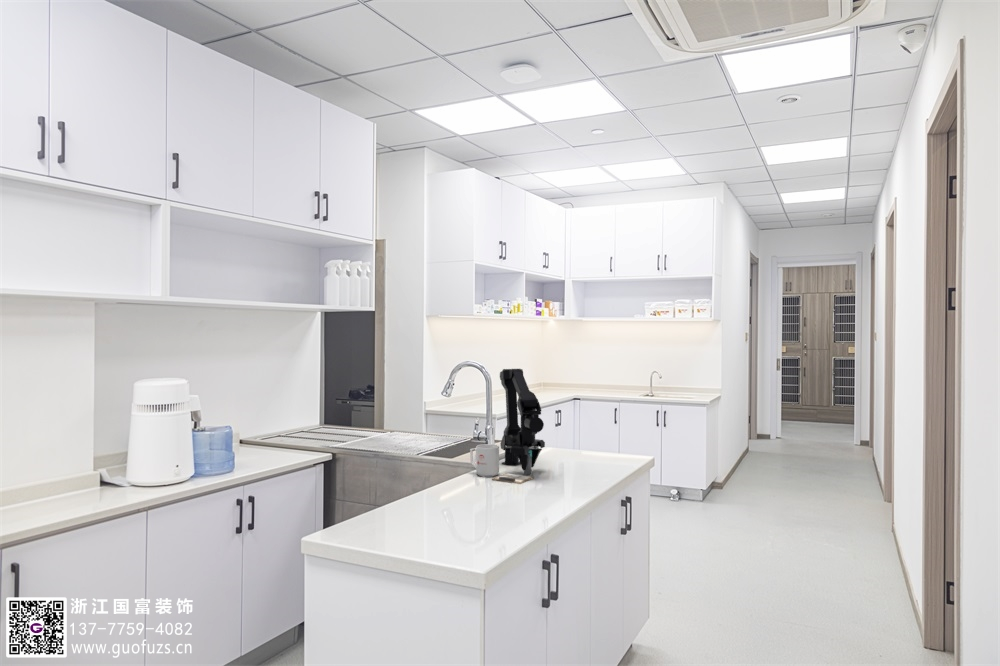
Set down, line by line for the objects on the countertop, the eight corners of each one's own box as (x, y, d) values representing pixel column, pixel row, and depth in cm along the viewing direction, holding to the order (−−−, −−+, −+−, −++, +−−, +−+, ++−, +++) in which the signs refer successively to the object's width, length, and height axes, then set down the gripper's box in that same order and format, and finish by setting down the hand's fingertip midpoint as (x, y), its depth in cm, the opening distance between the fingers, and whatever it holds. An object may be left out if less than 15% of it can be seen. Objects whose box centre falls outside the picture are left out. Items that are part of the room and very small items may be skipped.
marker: (526, 473, 261) (526, 449, 261) (533, 474, 260) (533, 450, 260) (522, 474, 259) (522, 450, 259) (529, 475, 257) (529, 451, 257)
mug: (503, 473, 261) (503, 445, 261) (492, 478, 253) (492, 449, 253) (476, 470, 266) (476, 442, 266) (464, 475, 258) (464, 446, 258)
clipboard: (505, 474, 259) (505, 470, 259) (533, 477, 254) (533, 474, 254) (491, 480, 250) (491, 476, 250) (520, 483, 244) (520, 480, 244)
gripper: (520, 424, 271) (520, 462, 271) (497, 430, 255) (497, 471, 255) (545, 426, 266) (545, 465, 266) (524, 432, 249) (524, 474, 250)
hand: (527, 468), depth 259 cm, fingers open, 6 cm apart
